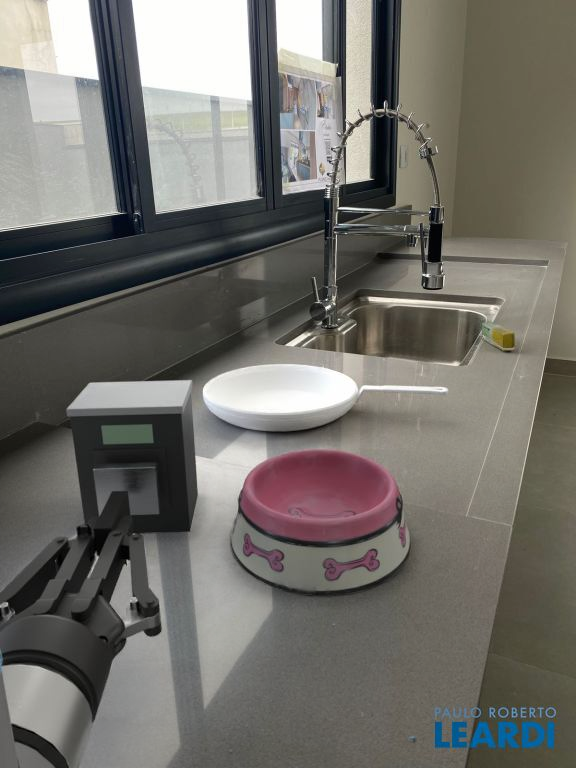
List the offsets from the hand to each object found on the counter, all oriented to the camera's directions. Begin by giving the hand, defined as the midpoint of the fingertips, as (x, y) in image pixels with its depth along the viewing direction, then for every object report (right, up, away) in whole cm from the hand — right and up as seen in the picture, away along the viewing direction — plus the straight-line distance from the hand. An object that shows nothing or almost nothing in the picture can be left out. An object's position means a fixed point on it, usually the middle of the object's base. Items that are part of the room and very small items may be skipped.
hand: (121, 503), depth 57 cm
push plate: (0, -2, +4) cm, 4 cm away
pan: (+22, +7, +41) cm, 47 cm away
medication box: (+63, +20, +78) cm, 102 cm away
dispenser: (0, -3, +11) cm, 11 cm away
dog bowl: (+19, -5, +5) cm, 20 cm away
